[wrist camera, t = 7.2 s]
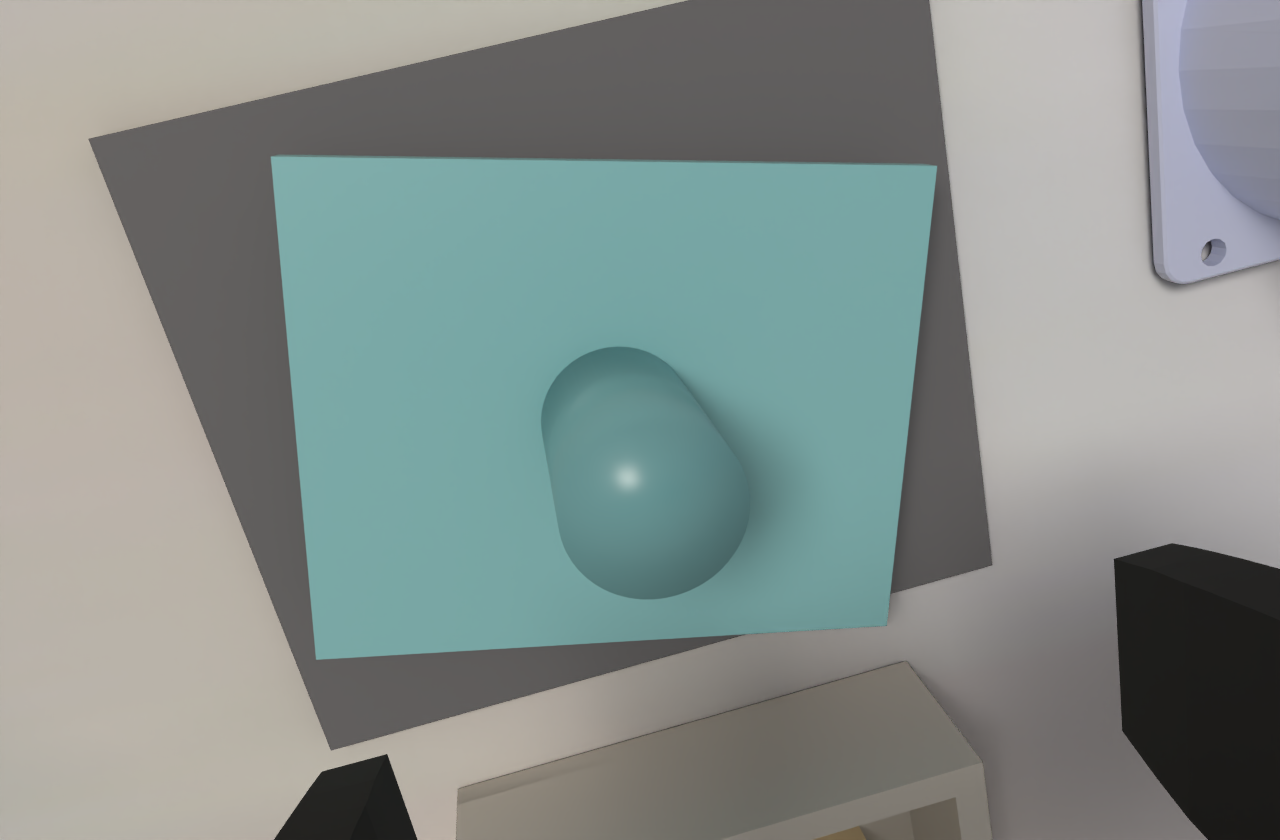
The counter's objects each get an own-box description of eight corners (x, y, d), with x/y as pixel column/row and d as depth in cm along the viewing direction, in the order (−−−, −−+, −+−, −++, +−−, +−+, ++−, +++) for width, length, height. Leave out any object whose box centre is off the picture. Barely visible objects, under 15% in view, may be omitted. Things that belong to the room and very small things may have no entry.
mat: (913, -51, 17) (922, -54, 17) (982, 557, 21) (992, 564, 21) (97, 138, 16) (88, 139, 16) (334, 738, 20) (331, 750, 20)
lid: (903, 161, 18) (1072, 184, 13) (860, 592, 20) (987, 755, 15) (288, 151, 16) (197, 175, 11) (328, 620, 19) (269, 813, 14)
